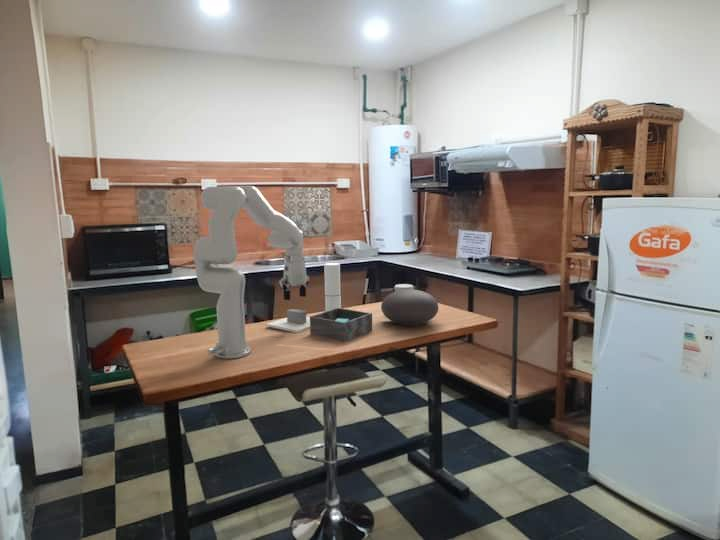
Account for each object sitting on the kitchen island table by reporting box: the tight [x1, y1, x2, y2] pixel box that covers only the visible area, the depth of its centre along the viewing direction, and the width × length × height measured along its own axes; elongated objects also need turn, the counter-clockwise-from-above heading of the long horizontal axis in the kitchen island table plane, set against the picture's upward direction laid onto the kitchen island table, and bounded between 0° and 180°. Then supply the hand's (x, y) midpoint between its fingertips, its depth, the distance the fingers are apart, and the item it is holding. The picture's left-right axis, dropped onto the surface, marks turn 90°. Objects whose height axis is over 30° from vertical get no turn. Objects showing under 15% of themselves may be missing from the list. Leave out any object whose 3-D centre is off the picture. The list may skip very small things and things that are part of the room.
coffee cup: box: [393, 283, 415, 292], centre depth 238 cm, size 9×9×12 cm
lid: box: [265, 308, 310, 333], centre depth 213 cm, size 19×19×7 cm
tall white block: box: [323, 262, 342, 312], centre depth 225 cm, size 7×7×25 cm
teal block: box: [335, 318, 349, 322], centre depth 199 cm, size 5×5×5 cm
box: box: [309, 307, 373, 342], centre depth 199 cm, size 18×18×8 cm
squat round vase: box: [380, 288, 439, 326], centre depth 213 cm, size 25×25×15 cm
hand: (295, 298), depth 211 cm, fingers open, 9 cm apart
